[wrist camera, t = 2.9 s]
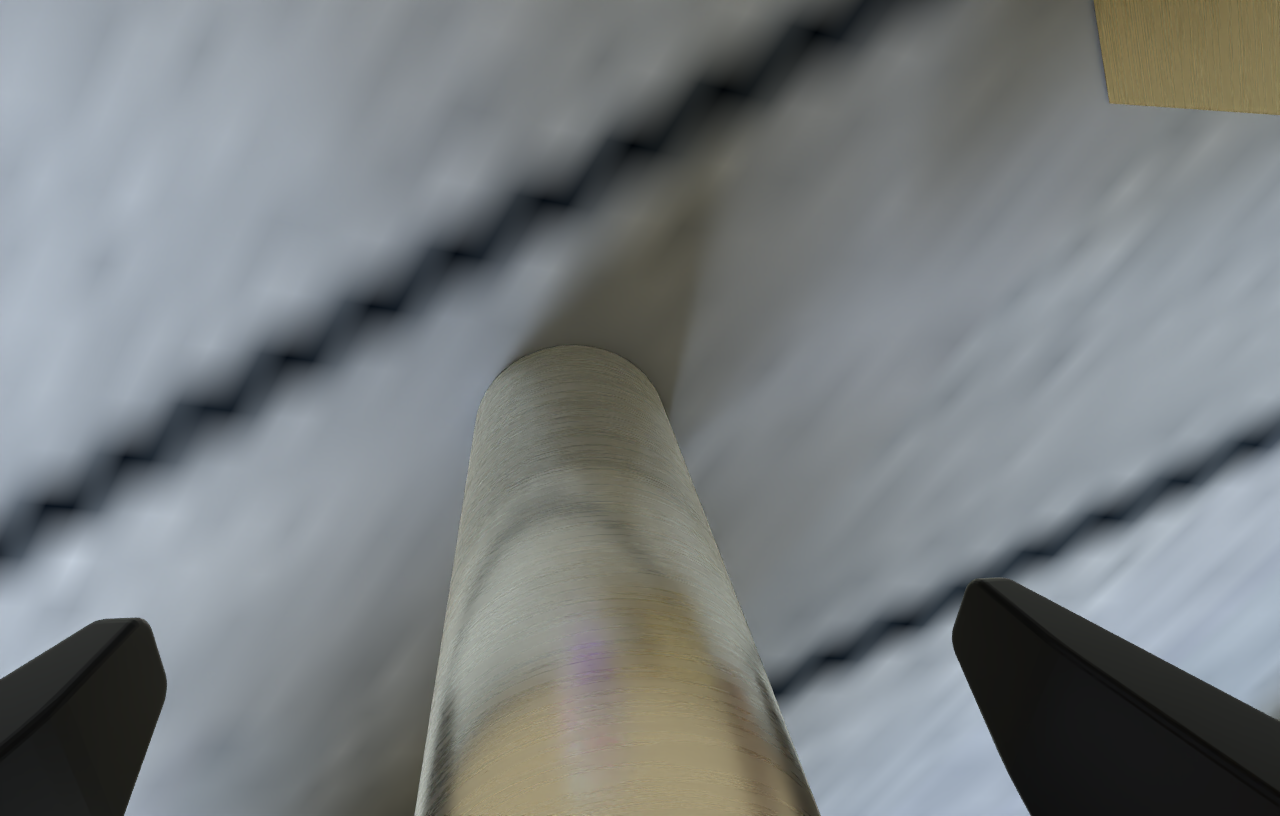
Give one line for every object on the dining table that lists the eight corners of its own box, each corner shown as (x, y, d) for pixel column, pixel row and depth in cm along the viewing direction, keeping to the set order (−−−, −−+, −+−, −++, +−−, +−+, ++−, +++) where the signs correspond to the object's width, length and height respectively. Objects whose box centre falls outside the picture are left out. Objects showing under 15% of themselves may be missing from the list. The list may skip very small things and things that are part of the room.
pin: (695, 461, 12) (1107, 1456, 4) (537, 542, 13) (551, 1648, 4) (611, 309, 11) (945, 1329, 2) (435, 403, 11) (86, 1655, 2)
